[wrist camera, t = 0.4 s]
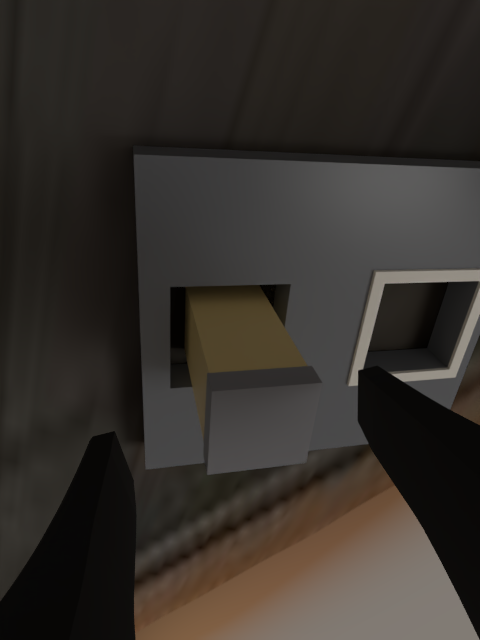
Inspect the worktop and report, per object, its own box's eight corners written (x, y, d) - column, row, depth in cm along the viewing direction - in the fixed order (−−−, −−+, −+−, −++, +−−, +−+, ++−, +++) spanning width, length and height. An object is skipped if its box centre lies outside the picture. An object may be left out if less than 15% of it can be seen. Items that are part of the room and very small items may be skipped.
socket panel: (511, 162, 22) (547, 172, 20) (421, 414, 30) (441, 437, 28) (132, 145, 18) (133, 155, 16) (144, 442, 26) (146, 472, 24)
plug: (260, 281, 22) (322, 382, 15) (253, 346, 24) (306, 462, 17) (183, 283, 21) (212, 391, 14) (182, 350, 23) (207, 474, 16)
